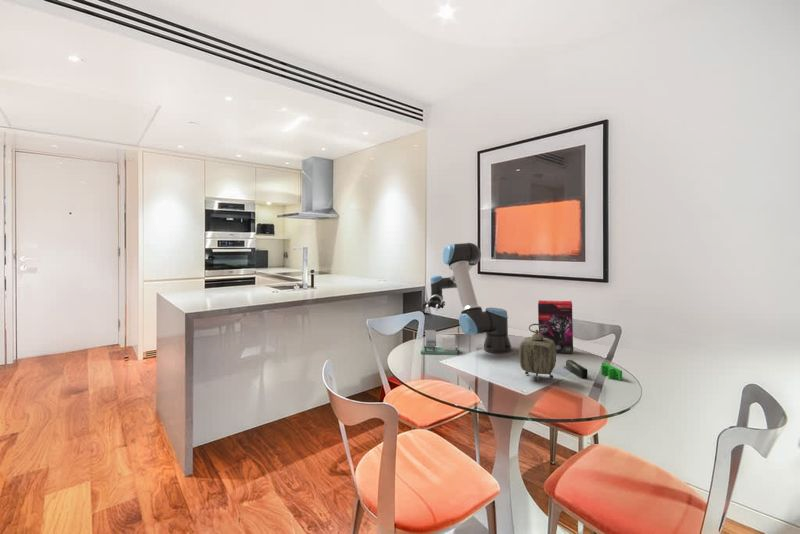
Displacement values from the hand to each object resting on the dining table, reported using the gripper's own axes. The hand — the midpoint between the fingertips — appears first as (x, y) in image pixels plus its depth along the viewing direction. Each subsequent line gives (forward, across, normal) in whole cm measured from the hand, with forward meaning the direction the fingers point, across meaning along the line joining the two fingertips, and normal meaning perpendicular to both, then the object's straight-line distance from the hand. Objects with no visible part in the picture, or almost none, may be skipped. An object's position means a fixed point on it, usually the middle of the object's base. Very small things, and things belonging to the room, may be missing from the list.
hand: (431, 308), depth 224 cm
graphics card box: (+9, -67, -22) cm, 72 cm away
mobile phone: (+41, -70, -22) cm, 84 cm away
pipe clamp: (+43, -83, -22) cm, 96 cm away
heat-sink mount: (+13, -5, -22) cm, 26 cm away
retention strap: (+11, 0, -20) cm, 23 cm away
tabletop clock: (+49, -52, -22) cm, 75 cm away
